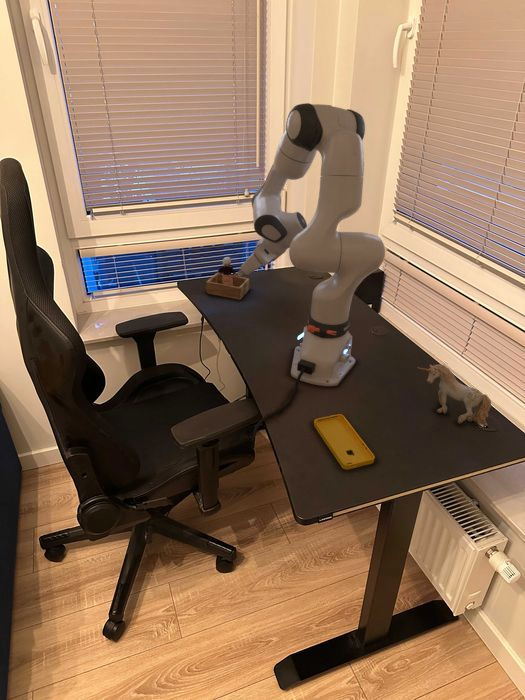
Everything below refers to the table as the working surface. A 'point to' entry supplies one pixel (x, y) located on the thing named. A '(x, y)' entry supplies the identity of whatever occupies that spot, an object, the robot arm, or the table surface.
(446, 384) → the unicorn figurine
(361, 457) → the phone case
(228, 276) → the grandmother figurine
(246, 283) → the holder
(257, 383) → the table surface
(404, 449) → the table surface
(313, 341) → the robot arm
